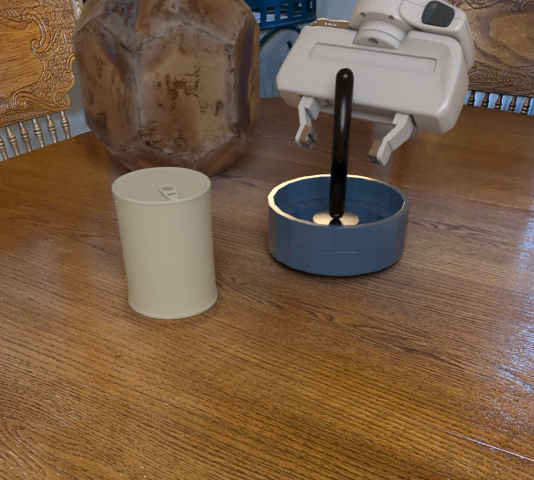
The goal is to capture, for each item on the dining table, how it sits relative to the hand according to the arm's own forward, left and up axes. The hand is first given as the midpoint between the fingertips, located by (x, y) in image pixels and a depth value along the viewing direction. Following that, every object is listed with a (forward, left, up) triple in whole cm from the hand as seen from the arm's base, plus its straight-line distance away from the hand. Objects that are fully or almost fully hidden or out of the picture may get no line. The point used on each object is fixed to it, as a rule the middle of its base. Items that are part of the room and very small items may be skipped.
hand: (338, 153), depth 72 cm
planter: (+19, -30, -11) cm, 37 cm away
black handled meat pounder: (0, -1, -10) cm, 10 cm away
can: (+18, +9, -11) cm, 23 cm away
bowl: (0, -1, -11) cm, 11 cm away
